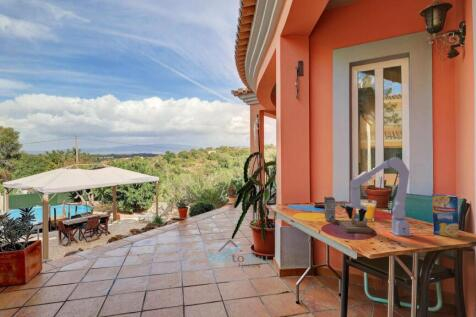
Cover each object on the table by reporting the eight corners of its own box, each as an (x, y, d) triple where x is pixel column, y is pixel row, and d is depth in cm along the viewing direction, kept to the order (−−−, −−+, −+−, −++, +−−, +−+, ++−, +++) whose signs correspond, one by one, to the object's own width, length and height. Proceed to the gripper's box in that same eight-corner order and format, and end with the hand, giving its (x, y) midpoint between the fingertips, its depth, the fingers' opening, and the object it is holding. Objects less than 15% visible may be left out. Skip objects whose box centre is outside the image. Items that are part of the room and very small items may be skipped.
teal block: (365, 217, 159) (365, 213, 159) (359, 218, 157) (358, 214, 157) (360, 216, 162) (360, 212, 162) (354, 217, 161) (353, 213, 161)
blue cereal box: (458, 237, 137) (457, 196, 137) (433, 234, 144) (432, 195, 144) (457, 234, 143) (456, 195, 143) (432, 231, 149) (431, 194, 149)
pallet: (367, 224, 159) (367, 217, 159) (357, 225, 156) (357, 219, 156) (360, 222, 163) (360, 216, 163) (351, 223, 160) (351, 217, 160)
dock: (371, 232, 149) (371, 228, 149) (346, 232, 151) (346, 228, 151) (360, 224, 168) (360, 220, 168) (338, 224, 170) (338, 220, 170)
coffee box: (324, 218, 188) (324, 196, 188) (333, 218, 186) (333, 196, 187) (326, 221, 179) (325, 198, 179) (335, 221, 178) (335, 198, 178)
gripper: (370, 198, 154) (370, 221, 154) (349, 196, 167) (350, 217, 167) (362, 199, 151) (363, 222, 151) (342, 197, 164) (342, 218, 163)
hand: (355, 219), depth 158 cm, fingers open, 7 cm apart
